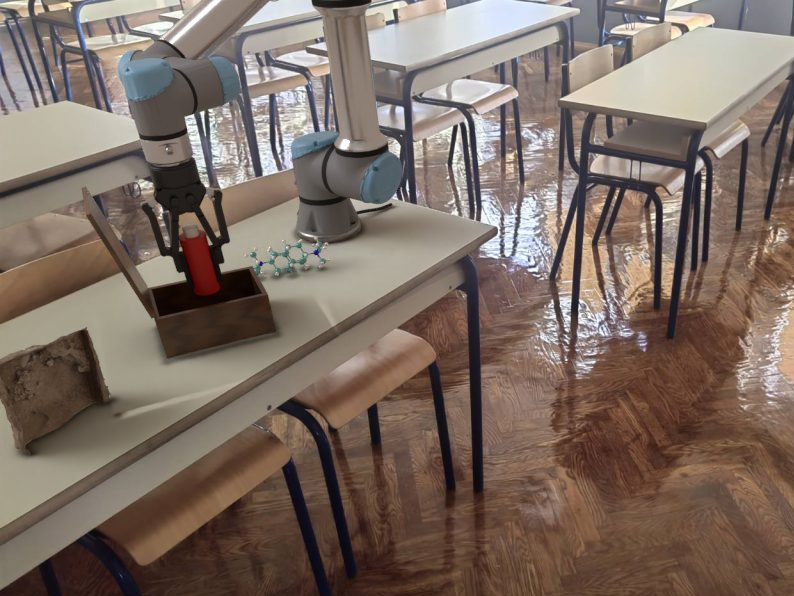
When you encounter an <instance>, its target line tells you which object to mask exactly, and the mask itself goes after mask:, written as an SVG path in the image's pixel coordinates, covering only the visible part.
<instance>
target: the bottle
mask: <svg viewBox="0 0 794 596" xmlns="http://www.w3.org/2000/svg"><path fill="white" fill-rule="evenodd" d="M181 230H182V232H181V233H179V245H180V247H181V251H182V252H183V254H184V257H185V260H186V263H187V267H188V270H189V274H190V277H191V281H192V284H193V287H194V292H195V293H196V294H197V295H210V294H213V293H216V292H217V291H219V289H220V285H219V281H218V277H217V273H216V270H215V266H214V262H213V259H212V255H211V251H210V247H209V245H210V244H209V240H208V236H207V234H206V232H205V230H202V229H199V226H198V224H196V223H188V224H185V225H183V226H182V227H181Z"/></svg>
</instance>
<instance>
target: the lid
mask: <svg viewBox="0 0 794 596" xmlns="http://www.w3.org/2000/svg"><path fill="white" fill-rule="evenodd" d="M81 194H82V201H83V206H84V212H85V216H86V218H87V220H88V222H89V223H90V224H91V226H92V227H93V229H94V231H95V233H96V234H97V236H98V238H99V239H100V240H101V241H102V243H103V245H104V246H105V248H106V250H107V251H108V253H109V254H110V256H111V257H112V259H113V260H114V262H115V264H116V265H117V267H118V268H119V270H120V272H121V273H122V275H123V277H124V278H125V279H126V281H127V282H128V284H129V286H130V288H131V289H132V290H133V292H134V293H135V295H136V297H137V299H138V300H139V301H140V303H141V305H142V306H143V308H144V310H145V311H146V313H147V315H148V316H149V317H150V319H154V317H156V315H155V312H154V308H153V305H152V301H151V298H150V294H149V290H148V288H149V287H148V284H147V282H146V281H145V279H144V278H143V275H141V272H139V270H138V267H136V265H135V263H134V262H133V260H132V258H131V257H130V254H129V253H128V252H127V251H126V248H125V247H124V246H123V243H122V242H121V241H120V239H119V237H118V236H117V234H116V232H115V231H114V229H113V227H112V226H111V224H110V223H109V221H108V219H107V217H106V216H105V215H104V213H103V211H102V210H101V208H100V206H99V205H98V204H97V201H95V198H94V197H93V195H92V193H91V192H90V191H89V189H88V187H87V186H82V187H81Z"/></svg>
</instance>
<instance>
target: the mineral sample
mask: <svg viewBox="0 0 794 596" xmlns="http://www.w3.org/2000/svg"><path fill="white" fill-rule="evenodd" d="M87 328H88V327H87V326H86V327H85V328H81V329H79V330H75V331H73V332H71V333H68V334H67V335H62V336H59V337H58V338H56V339H54V340H53V341H51V342H49V343H48V344H41V345H40V344H35V345H31V346H29V347H26V348H25V349H20V350H17V351H14V352H10V353H9V354H7V355H5V356H2V357H1V358H0V402H1V404H2V405H3V407H4V410H5V414H6V419H7V420H8V422H9V424H10V428H11V431H12V437H13V442H14V448H15V450H16V449H17V450H19V449H20V450H22V451H23V452H24V453H26V454H28V455H29V456H32V453H31V452H30V449H27V448H25V447H26V446H25V445H26V444H27V443H29V442H30V441H32V440H33V441H34V440H36V439H38V438H40V437H43V436H44V435H46V434H49V433H50V432H52V431H53V430H56V428H58V427H60V426H61V425H63V424H64V423H66V422H67V421H68V420H70V419H71V418H72V417H73V416H74V415H75V414H76V413H79V412H80V411H81V410H83V409H85V408H86V407H88V406H89V405H92V404H94V403H98V404H99V403H100V404H107V403H109V402H111V401H112V400H111V398H110V397H111V395H112V394H111V393H110V391H109V390H110V389H109V385H107V384H106V380H105V378H104V374H103V372H102V367H101V365H100V364H101V363H100V359H99V356H98V354H97V351H96V349H95V347H94V342H93V340H92V337H91V336H90V335H91V334H90V333H89V330H88V329H87Z"/></svg>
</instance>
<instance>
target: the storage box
mask: <svg viewBox="0 0 794 596" xmlns="http://www.w3.org/2000/svg"><path fill="white" fill-rule="evenodd" d="M221 274H222V278H223V281H224V282H222V283H219V285H220V289H219V291H217V292H216V293H213V294H210V295H197V294H196V293H195V292H194V289H191V290H190V289H189V287H188V284H187V281H186V279H183V280H180V281H179V280H178V281H175V282H174V281H173V282H170V283H166V284H159V285H156V286H151V287H148V290H149V294H150V298H151V301H152V305H153V308H154V312H155V315H156V317H154V318H153V320H154V323H155V326H156V329H157V332H158V335H159V338H160V341H161V344H162V348H163V351H164V353H165V357H166V359H170V358H175V357H178V356H182V355H186V354H190V353H194V352H199V351H203V350H206V349H210V348H214V347H219V346H222V345H227V344H231V343H236V342H239V341H243V340H247V339H251V338H256V337H260V336H263V335H268V334H273V333H275V332H277V329H276V324H275V320H274V316H273V311H272V307H271V301H270V297H269V294H268V292H267V290H266V288H265V286H264V285H263V283H262V280H261V278H260V277H259V274H257V273H256V272H255V269H254V266H253V265H250V266H245V267H241V268H235V269H231V270H225V271H221Z"/></svg>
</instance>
